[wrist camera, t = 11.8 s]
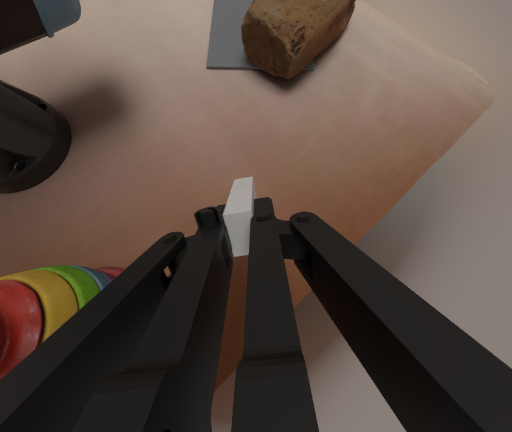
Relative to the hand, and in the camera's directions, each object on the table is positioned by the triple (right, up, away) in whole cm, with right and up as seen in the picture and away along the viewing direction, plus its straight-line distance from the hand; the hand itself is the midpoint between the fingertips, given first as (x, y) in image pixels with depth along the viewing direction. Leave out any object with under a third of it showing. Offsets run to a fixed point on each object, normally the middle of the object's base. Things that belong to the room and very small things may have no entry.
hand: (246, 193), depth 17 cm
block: (+2, +22, +12) cm, 25 cm away
